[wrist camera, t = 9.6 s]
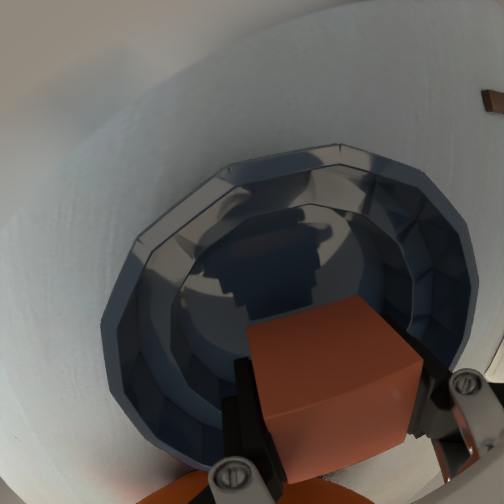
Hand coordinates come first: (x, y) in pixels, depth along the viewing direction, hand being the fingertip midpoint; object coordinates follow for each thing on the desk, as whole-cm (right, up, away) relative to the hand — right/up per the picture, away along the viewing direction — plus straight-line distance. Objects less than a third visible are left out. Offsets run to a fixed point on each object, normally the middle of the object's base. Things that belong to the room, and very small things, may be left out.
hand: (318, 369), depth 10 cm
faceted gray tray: (-1, +2, +5) cm, 5 cm away
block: (0, 0, +1) cm, 1 cm away
